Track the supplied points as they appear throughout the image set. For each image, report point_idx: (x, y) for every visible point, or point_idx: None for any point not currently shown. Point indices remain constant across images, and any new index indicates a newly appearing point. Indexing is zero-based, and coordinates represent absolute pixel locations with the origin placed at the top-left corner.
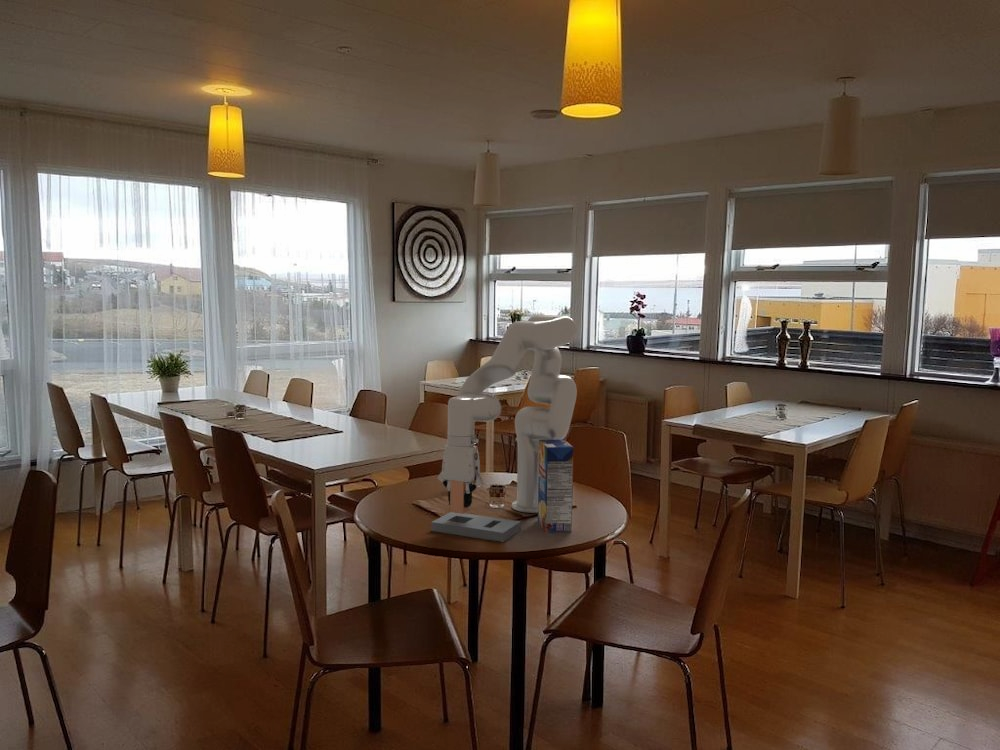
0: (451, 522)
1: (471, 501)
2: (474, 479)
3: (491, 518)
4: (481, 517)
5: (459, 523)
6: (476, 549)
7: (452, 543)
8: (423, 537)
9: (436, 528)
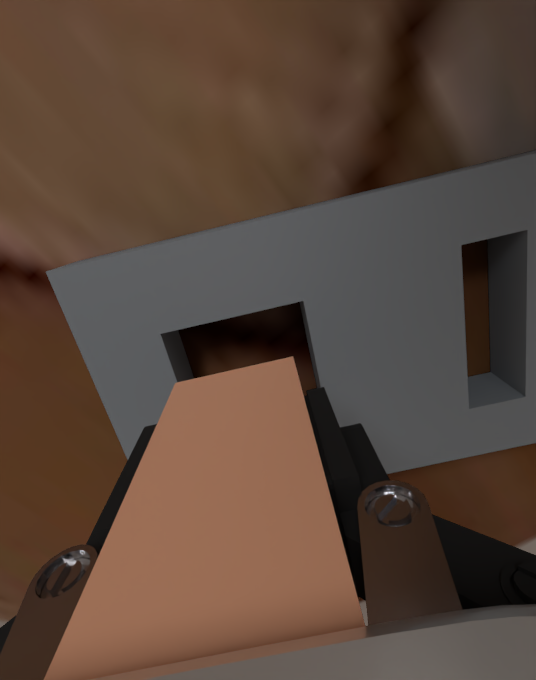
0: None
1: (364, 435)
2: (484, 609)
3: (420, 216)
4: (339, 246)
5: None
6: (513, 534)
7: None
8: None
9: None
